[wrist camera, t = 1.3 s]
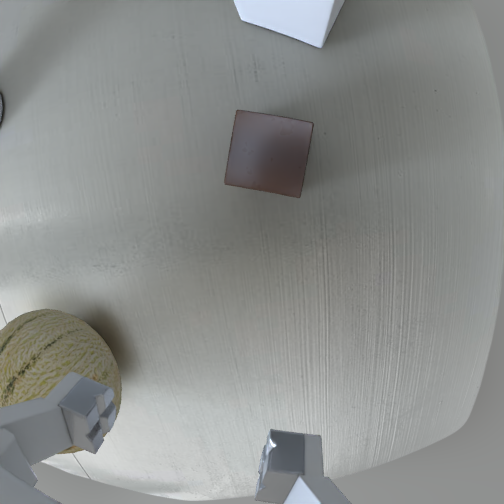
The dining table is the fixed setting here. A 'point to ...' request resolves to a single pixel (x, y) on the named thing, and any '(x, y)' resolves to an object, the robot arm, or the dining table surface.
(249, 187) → the walnut block
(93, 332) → the cantaloupe
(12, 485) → the robot arm
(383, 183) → the dining table surface
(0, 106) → the water bottle
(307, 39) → the milk carton
